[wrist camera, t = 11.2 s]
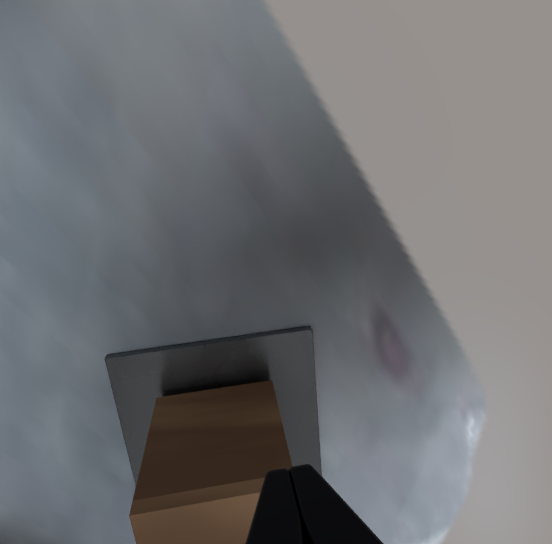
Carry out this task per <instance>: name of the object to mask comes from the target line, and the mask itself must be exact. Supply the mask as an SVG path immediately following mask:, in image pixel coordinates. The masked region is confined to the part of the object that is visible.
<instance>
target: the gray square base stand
mask: <svg viewBox="0 0 552 544" xmlns="http://www.w3.org/2000/svg"><path fill="white" fill-rule="evenodd" d="M105 362H106V366H107V370H108V374H109V378H110V382H111V386H112V391H113V395H114V399H115V403H116V407H117V411H118V415H119V419H120V423H121V427H122V431H123V435H124V440H125V444H126V448H127V452H128V456H129V460H130V464H131V468H132V472H133V476H134V480H135V485H137V480H138V476H139V472H140V467H141V463H142V459H143V454H144V450H145V446H146V441H147V437H148V433H149V428H150V424H151V420H152V415H153V411H154V407H155V402H156V398H157V397H164V396H170V395H177V394H184V393H190V392H197V391H203V390H210V389H217V388H223V387H230V386H237V385H243V384H250V383H256V382H263V381H270V380H272V382H273V386H274V390H275V395H276V399H277V403H278V407H279V412H280V416H281V420H282V424H283V429H284V433H285V437H286V441H287V445H288V450H289V454H290V458H291V462H292V466H298V465H303V464H310V465H312V466H313V467H314V469H315V470H316V471H317V472H318V473H319V474H320V475H321V476H322V474H321V458H320V443H319V427H318V412H317V396H316V381H315V365H314V350H313V334H312V328H311V326H308V327H301V328H294V329H286V330H279V331H272V332H265V333H258V334H251V335H244V336H237V337H230V338H222V339H215V340H208V341H201V342H194V343H187V344H180V345H173V346H166V347H159V348H151V349H144V350H137V351H130V352H123V353H116V354H109V355H107V356H106V357H105Z"/></svg>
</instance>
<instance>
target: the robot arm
mask: <svg viewBox="0 0 552 544" xmlns="http://www.w3.org/2000/svg"><path fill="white" fill-rule="evenodd" d="M245 544H383V543H382V541H381V540H380V539H379V538H378V537H377V536H376V535H375V534H374V533H373V532H372V531H371V530H370V528H369V527H368V526H367V525H366V524H365V523H364V522H363V521H362V520H361V519H360V518H359V516H358V515H357V514H356V513H355V512H354V511H353V510H352V509H351V508H350V507H349V506H348V504H347V503H346V502H345V501H344V500H343V499H342V498H341V497H340V496H339V495H338V494H337V492H336V491H335V490H334V489H333V488H332V487H331V486H330V485H329V484H328V483H327V482H326V481H325V479H324V478H323V477H322V476H321V475H320V474H319V473H318V472H317V471H316V470H315V469H314V467H313V466H312V465H310V464H303V465H298V466H292V467H291V468H290V469H289V470H288V469H287V468H281V469H275V470H270V471H268V472H267V473H266V475H265V479H264V482H263V485H262V489H261V492H260V496H259V499H258V502H257V506H256V509H255V513H254V516H253V519H252V523H251V526H250V530H249V533H248V537H247V540H246V543H245Z"/></svg>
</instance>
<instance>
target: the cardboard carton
mask: <svg viewBox="0 0 552 544" xmlns="http://www.w3.org/2000/svg"><path fill="white" fill-rule="evenodd" d="M291 467H292V462H291V458H290V454H289V450H288V445H287V441H286V437H285V433H284V429H283V424H282V420H281V416H280V412H279V407H278V403H277V399H276V395H275V390H274V386H273V382H272V380H270V381H263V382H256V383H250V384H243V385H237V386H230V387H223V388H217V389H210V390H203V391H197V392H190V393H184V394H177V395H170V396H164V397H157V398H156V402H155V407H154V411H153V415H152V420H151V424H150V428H149V433H148V437H147V441H146V446H145V450H144V454H143V459H142V463H141V467H140V472H139V476H138V480H137V485H136V489H135V493H134V498H133V502H132V506H131V511H130V515H129V516H130V520H131V524H132V528H133V532H134V536H135V540H136V544H245V543H246V540H247V537H248V533H249V530H250V526H251V523H252V519H253V516H254V513H255V509H256V506H257V502H258V499H259V496H260V492H261V489H262V485H263V482H264V479H265V475H266V473H267V472H268V471H270V470H275V469H281V468H287V469H288V470H289V469H290V468H291Z"/></svg>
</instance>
